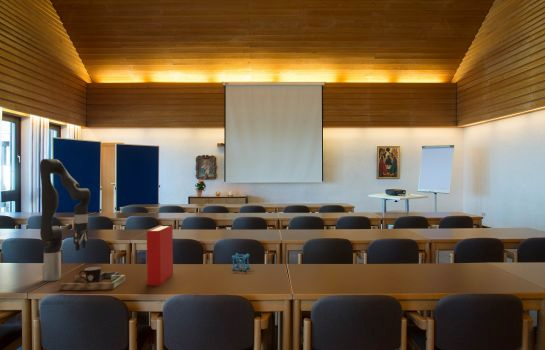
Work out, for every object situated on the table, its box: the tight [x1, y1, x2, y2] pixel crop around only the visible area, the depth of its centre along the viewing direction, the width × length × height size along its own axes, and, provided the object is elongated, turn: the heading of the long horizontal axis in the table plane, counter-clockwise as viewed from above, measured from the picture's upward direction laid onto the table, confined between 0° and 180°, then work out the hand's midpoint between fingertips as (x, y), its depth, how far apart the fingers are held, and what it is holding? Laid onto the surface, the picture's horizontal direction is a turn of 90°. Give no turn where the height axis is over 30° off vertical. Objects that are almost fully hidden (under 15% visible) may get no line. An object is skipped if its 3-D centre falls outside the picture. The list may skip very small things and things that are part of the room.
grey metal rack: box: [59, 271, 126, 291], centre depth 246 cm, size 30×27×4 cm
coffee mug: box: [78, 266, 102, 283], centre depth 242 cm, size 12×9×10 cm
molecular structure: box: [231, 253, 251, 272], centre depth 278 cm, size 10×10×10 cm
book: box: [146, 224, 174, 286], centre depth 254 cm, size 27×8×32 cm, turn 178°
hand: (81, 249), depth 244 cm, fingers open, 8 cm apart
